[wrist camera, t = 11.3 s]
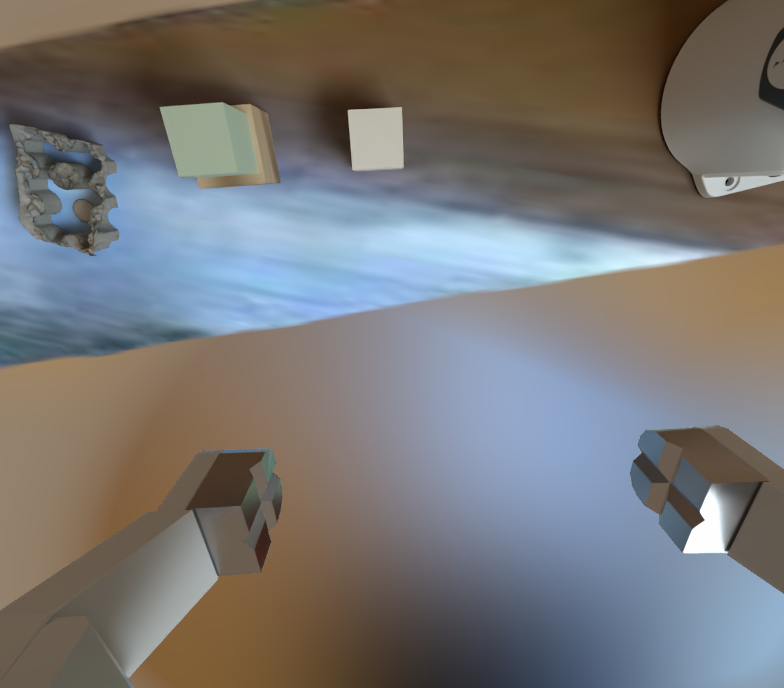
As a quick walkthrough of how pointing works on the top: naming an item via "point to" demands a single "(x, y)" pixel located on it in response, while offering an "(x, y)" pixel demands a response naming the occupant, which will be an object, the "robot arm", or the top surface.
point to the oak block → (262, 152)
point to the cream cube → (376, 138)
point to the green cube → (210, 140)
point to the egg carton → (44, 203)
